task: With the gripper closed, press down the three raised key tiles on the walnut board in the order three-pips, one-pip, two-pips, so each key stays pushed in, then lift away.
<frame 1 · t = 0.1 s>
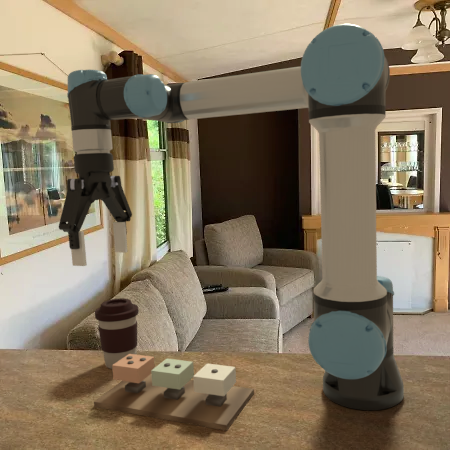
hand: (101, 258, 98), 28 cm above the kitchen counter, tool pointing down, fingers open, 13 cm apart
tile three: (133, 367, 98), point 6 cm above the kitchen counter, slide at 0.0 cm
tile two: (173, 372, 94), point 6 cm above the kitchen counter, slide at 0.0 cm
tile one: (215, 378, 91), point 6 cm above the kitchen counter, slide at 0.0 cm
coffee cup: (121, 364, 114), on the kitchen counter
key board: (174, 400, 95), on the kitchen counter
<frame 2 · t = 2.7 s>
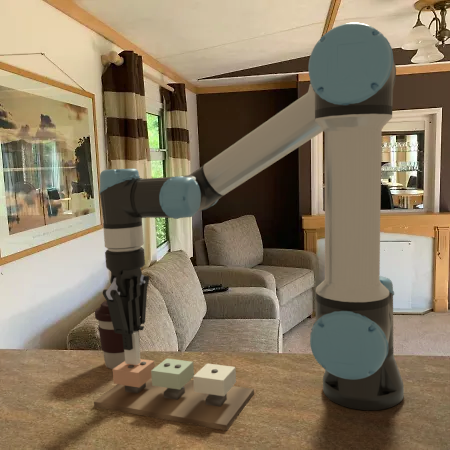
hand: (133, 362, 98), 7 cm above the kitchen counter, tool pointing down, fingers closed
tile three: (134, 371, 98), point 5 cm above the kitchen counter, slide at 0.9 cm, touching gripper
everything else where it was.
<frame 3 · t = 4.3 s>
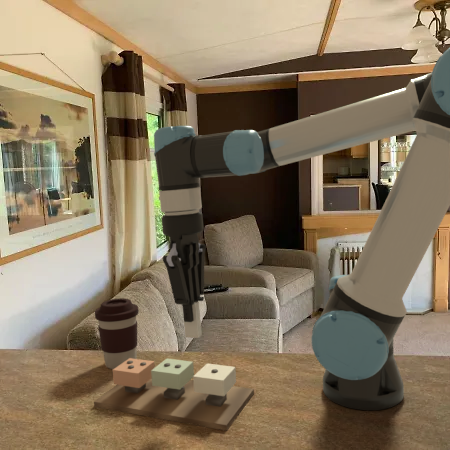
hand: (193, 336, 91), 14 cm above the kitchen counter, tool pointing down, fingers closed
tile three: (134, 372, 98), point 5 cm above the kitchen counter, slide at 1.0 cm
everything else where it was.
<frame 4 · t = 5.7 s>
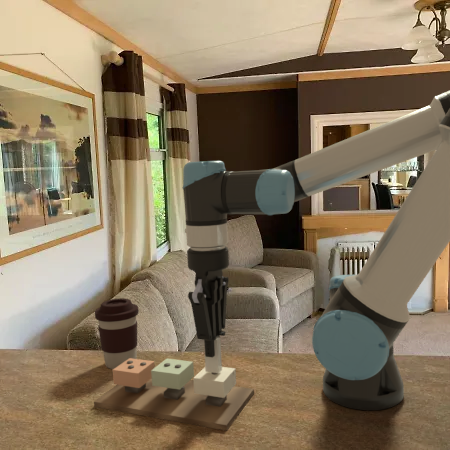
hand: (213, 370, 90), 7 cm above the kitchen counter, tool pointing down, fingers closed
tile one: (215, 380, 91), point 5 cm above the kitchen counter, slide at 0.3 cm, touching gripper
everything else where it was.
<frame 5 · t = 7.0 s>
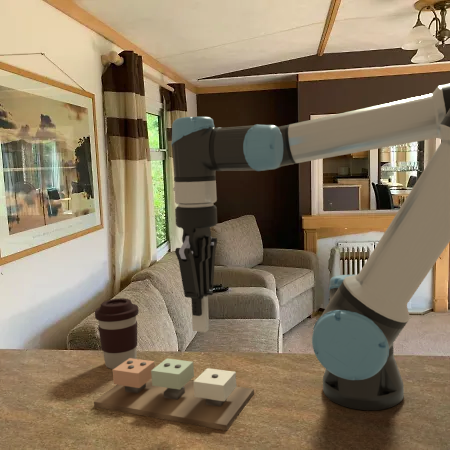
hand: (200, 330, 90), 15 cm above the kitchen counter, tool pointing down, fingers closed
tile one: (215, 383, 91), point 5 cm above the kitchen counter, slide at 1.0 cm
everything else where it was.
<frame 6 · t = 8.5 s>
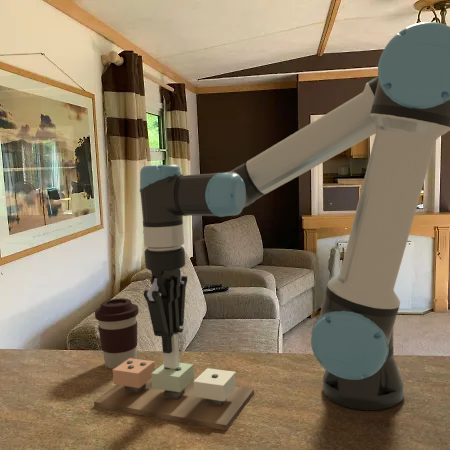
hand: (171, 366, 94), 7 cm above the kitchen counter, tool pointing down, fingers closed
tile two: (173, 375, 94), point 5 cm above the kitchen counter, slide at 0.5 cm, touching gripper
everything else where it was.
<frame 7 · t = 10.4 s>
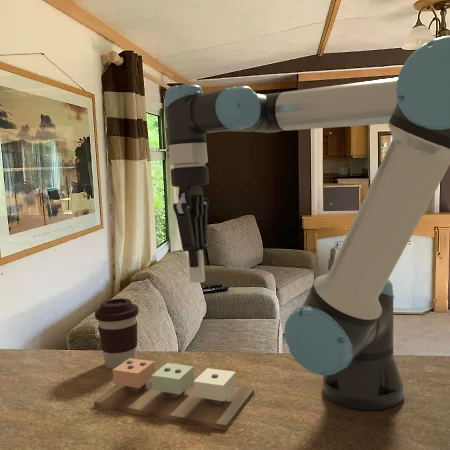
hand: (197, 281, 99), 22 cm above the kitchen counter, tool pointing down, fingers closed
tile two: (173, 377, 94), point 5 cm above the kitchen counter, slide at 1.0 cm
everything else where it was.
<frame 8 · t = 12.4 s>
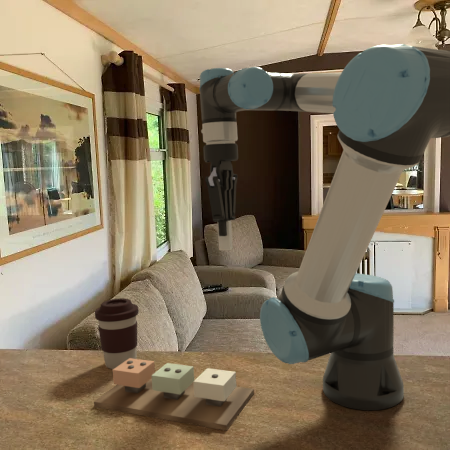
hand: (225, 249, 108), 26 cm above the kitchen counter, tool pointing down, fingers closed
nothing on the kitchen counter moved.
at the end: tile three slide at 1.0 cm; tile one slide at 1.0 cm; tile two slide at 1.0 cm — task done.
